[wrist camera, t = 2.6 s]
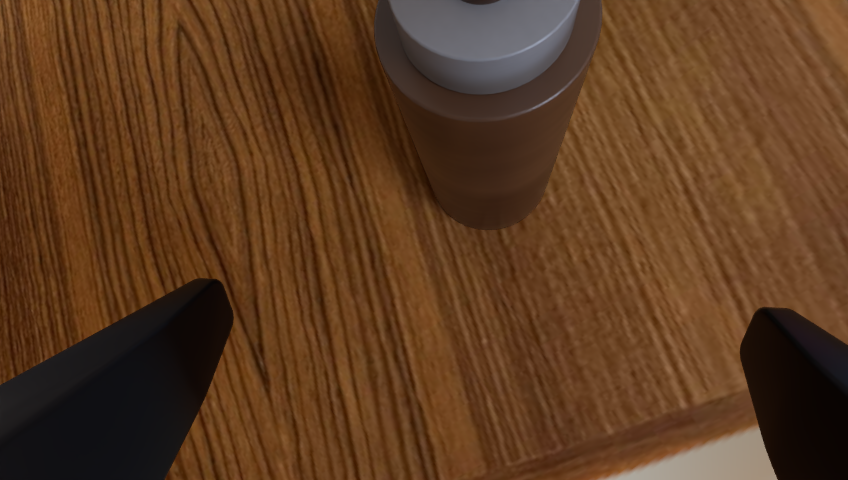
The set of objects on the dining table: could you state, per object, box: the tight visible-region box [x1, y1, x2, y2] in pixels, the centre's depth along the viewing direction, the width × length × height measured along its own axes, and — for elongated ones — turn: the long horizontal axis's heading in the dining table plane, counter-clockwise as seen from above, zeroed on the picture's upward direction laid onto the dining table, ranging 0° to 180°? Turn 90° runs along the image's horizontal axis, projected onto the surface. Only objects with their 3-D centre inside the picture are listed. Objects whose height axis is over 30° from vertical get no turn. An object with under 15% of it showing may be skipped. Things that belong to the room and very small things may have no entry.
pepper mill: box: [374, 0, 602, 230], centre depth 15 cm, size 5×5×14 cm
